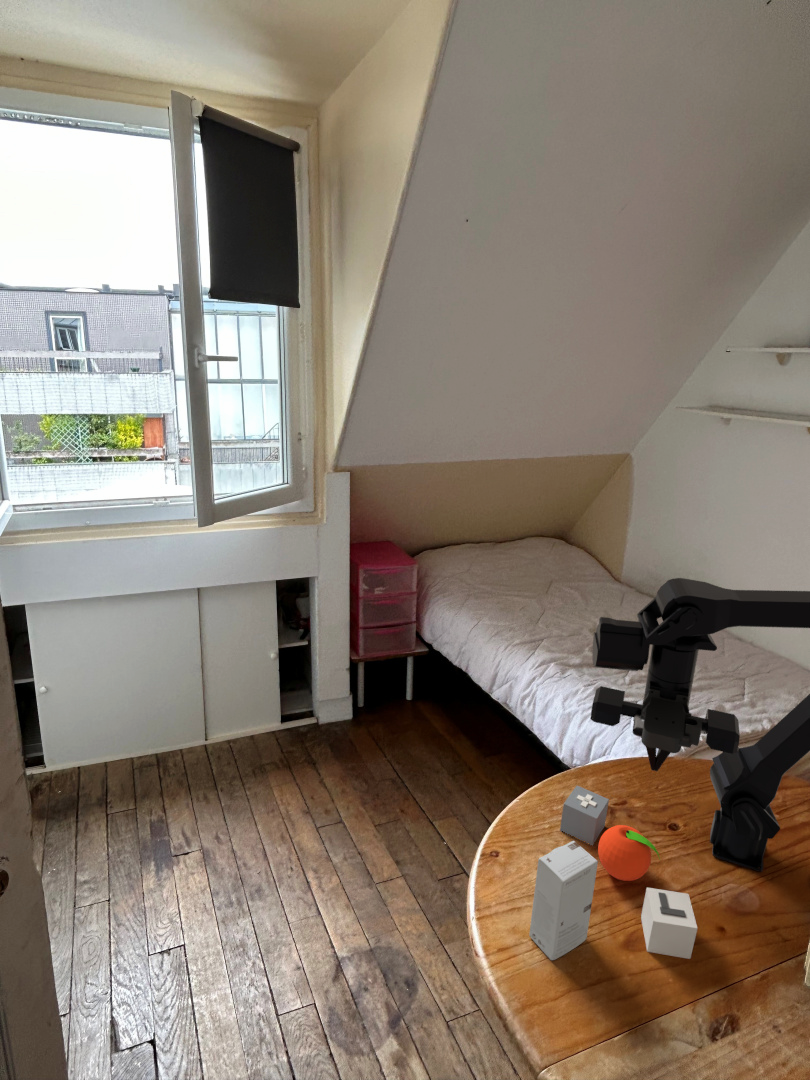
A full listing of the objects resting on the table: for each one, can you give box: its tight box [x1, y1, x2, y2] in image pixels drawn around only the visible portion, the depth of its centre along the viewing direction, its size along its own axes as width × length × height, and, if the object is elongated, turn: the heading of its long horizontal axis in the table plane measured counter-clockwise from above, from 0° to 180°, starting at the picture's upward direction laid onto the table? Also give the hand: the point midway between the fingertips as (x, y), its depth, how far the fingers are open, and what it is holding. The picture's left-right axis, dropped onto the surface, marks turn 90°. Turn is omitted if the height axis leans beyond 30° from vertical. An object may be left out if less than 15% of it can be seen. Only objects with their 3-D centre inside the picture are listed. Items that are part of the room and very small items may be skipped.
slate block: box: [559, 785, 610, 847], centre depth 101 cm, size 5×5×5 cm
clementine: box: [597, 824, 661, 882], centre depth 93 cm, size 8×7×7 cm
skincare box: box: [529, 840, 599, 961], centre depth 82 cm, size 6×4×12 cm
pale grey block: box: [640, 887, 698, 960], centre depth 84 cm, size 5×5×5 cm
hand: (654, 769), depth 97 cm, fingers closed
